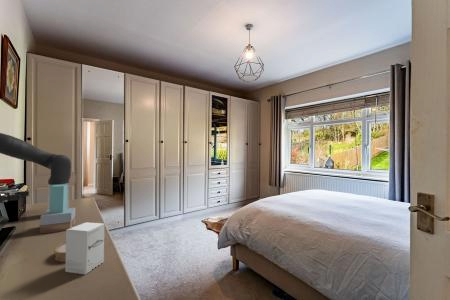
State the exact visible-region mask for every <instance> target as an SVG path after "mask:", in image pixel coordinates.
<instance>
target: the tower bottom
mask: <svg viewBox="0 0 450 300" xmlns="http://www.w3.org/2000/svg"><path fill="white" fill-rule="evenodd" d="M76 217H77V216H76V215H75V217H74V218H73V220H72V222H65V223H56V224H47V225H39V234H45V233H55V232H56V233H57V232H65V231H66V230H67V229H70V228H72V227H75V224H76V221H77V218H76Z"/></svg>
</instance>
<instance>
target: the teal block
mask: <svg viewBox="0 0 450 300" xmlns="http://www.w3.org/2000/svg"><path fill="white" fill-rule="evenodd" d="M66 210H67V185H53V186H51V187H50V213H63V212H64V211H66Z"/></svg>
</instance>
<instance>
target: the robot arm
mask: <svg viewBox="0 0 450 300" xmlns="http://www.w3.org/2000/svg"><path fill="white" fill-rule="evenodd" d="M0 154H1V155H5V156H7V157H11V158H15V159H18V160H21V161H26V162H29V163H30V162H31V163H34V164H37V165H40V166H41V167H44V168H47V169H49V170H50V176H49V178H48V181H47V186H48V187H47V189H48V191H47V210H50V187H51V186H53V185H67V208H70V206H69V205H70V202H69V201H70V199H69V198H70V178H71V173H72V162H71V159H70V158H69V156H67V155H64V154H56V153H51V152H48V151H44V150H42V149H40V148H38V147H36V146H34V145H33V144H32V143H29V142H27V141H25V140H23V139H21V138H17V137H15V136H13V135H9V134H6V133H3V132H2V133H1V132H0ZM29 196H30V191H28V190H25V191H19V190H6V191H5V190H2V191H1V190H0V204H2V203H7V202H10V201H20V200H21V198H22V197H29Z"/></svg>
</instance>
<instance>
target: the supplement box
mask: <svg viewBox="0 0 450 300" xmlns="http://www.w3.org/2000/svg"><path fill="white" fill-rule="evenodd" d="M65 231H66V232H65V242H66V262H65V268H64V269H65V273H71V274H77V273H78V274H79V275H88V273H90V272H92V271H93V270H94V269H96V268H97V267H99V266H101V265H102V264H103V263H105V244H104V238H105V223H102V222H87V221H86V222H83V223H80V224H78V225H74V226H73V227H72V228H70V229H67V230H65ZM101 263H102V264H101ZM98 265H99V266H98ZM95 267H96V268H95ZM92 269H93V270H92Z"/></svg>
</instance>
